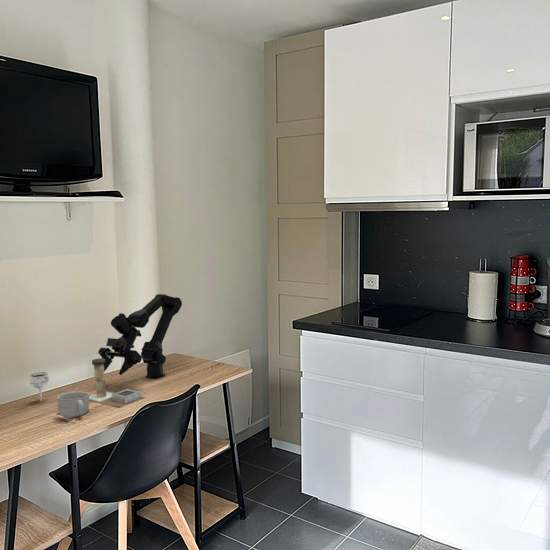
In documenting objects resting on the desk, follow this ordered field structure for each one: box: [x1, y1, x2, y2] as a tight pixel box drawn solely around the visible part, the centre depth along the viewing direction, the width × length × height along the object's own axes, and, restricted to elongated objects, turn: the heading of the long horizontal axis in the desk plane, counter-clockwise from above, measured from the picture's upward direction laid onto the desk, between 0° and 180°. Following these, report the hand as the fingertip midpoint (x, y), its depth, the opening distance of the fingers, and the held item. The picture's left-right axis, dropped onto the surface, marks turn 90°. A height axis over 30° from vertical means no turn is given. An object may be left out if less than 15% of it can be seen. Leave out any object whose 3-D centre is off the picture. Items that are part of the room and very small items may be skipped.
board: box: [89, 388, 146, 409], centre depth 213 cm, size 13×22×1 cm, turn 56°
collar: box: [111, 388, 142, 404], centre depth 211 cm, size 8×8×2 cm
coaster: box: [89, 392, 114, 404], centre depth 214 cm, size 9×9×1 cm
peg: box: [91, 357, 107, 397], centre depth 214 cm, size 5×5×14 cm
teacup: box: [56, 391, 90, 420], centre depth 196 cm, size 14×11×8 cm
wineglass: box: [29, 371, 50, 403], centre depth 211 cm, size 7×7×12 cm
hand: (110, 373), depth 219 cm, fingers open, 9 cm apart
